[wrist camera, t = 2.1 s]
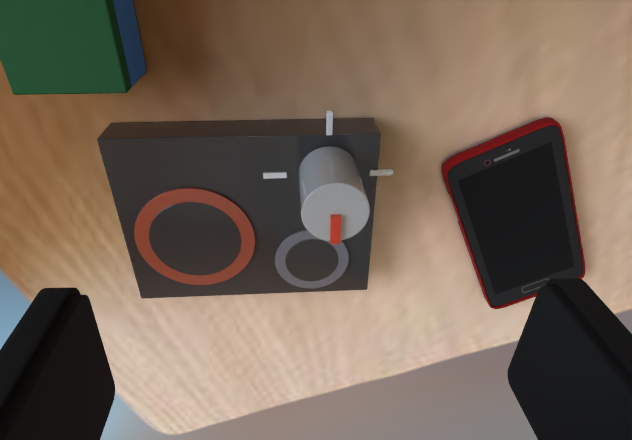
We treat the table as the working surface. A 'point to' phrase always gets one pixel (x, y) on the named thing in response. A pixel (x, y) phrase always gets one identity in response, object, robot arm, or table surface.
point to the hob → (237, 187)
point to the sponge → (70, 46)
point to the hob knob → (332, 195)
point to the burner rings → (224, 242)
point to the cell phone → (517, 211)
